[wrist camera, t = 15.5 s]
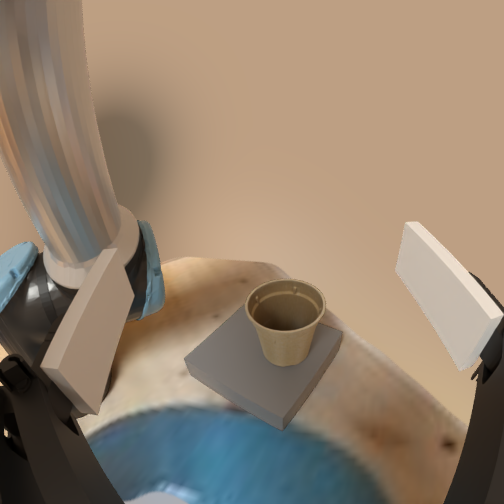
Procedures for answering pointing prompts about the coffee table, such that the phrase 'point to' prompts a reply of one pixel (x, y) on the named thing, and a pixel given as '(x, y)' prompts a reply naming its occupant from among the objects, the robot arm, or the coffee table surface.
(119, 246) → the robot arm
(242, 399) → the plinth
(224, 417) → the coffee table surface
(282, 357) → the flower pot
